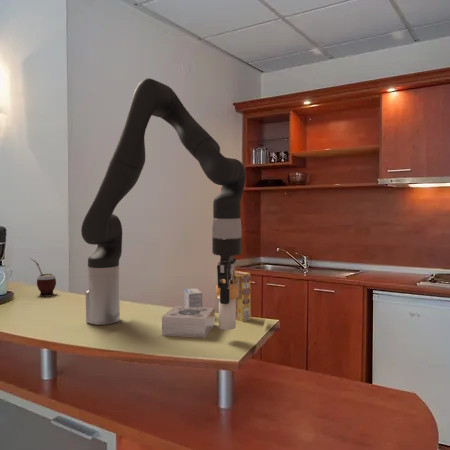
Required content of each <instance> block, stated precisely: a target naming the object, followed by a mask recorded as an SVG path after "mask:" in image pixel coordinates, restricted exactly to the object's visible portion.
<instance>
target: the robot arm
mask: <svg viewBox="0 0 450 450" xmlns="http://www.w3.org/2000/svg"><path fill="white" fill-rule="evenodd" d="M127 112H128V113H127V116H126V120H125V122H124V126H123V128H122V131H121V133H120V137H119V140H118V141H117V145H116V147H115V149H114V151H113V154H112V156H111V159H110V161H109V163H108V167H107V169H106V172H105V175H104V178H103V179H102V182H101V184H100V186H99V189H98V191H97V194H96V196H95V198H94V199H93V201H92V204H91V206H90V207H89V209H88V211H87V213H86V215H85V217H84V219H83V221H82V224H81V231H80V233H81V237H82V239H83V240H84V242H86V244H88V245H93V246H94V245H97V247H96V249H95V251H94V252H93V253H92V254H91V255H90V256H88V259H87V280H88V281H87V282H88V283H87V286H88V287H87V288H88V290H86V291H85V323H86V324H87V323H88V324H90V325H96V326H97V325H98V326H102V325H110V324H111V325H112V324H115V323H116V324H117V322H118V323H119V321H120V319H121V317H120V316H121V312H120V308H121V307H120V303H121V302H120V258H121V256H122V252H123V251H122V250H123V226H122V223H121V220H120V218H119V216H117V215H116V214H114V212H115V209H116V207H117V205H118V204H119V203H120V202H121V201H122V200H123V198H124V197H125V196H127V195H128V194H129V192H131V190H132V189H133V188H134V186H135V185H136V184H137V182H138V180H139V179H140V176H141V174H142V171H143V169H144V166H145V163H146V145H145V135H146V131H147V127H148V125H149V122H150V119H151V117H152V116H154V117H157V118H160V119H162V120H163V121H165V122H166V123H168V124H169V125H170V126H171V127H172V128H173V129H174V130H175V132H176V133H177V136H178V139H179V140H180V142H181V144H182V145H183V147H184V148H185V149H186V150H187V152H189V153H190V155H191V156H192V157H193V158H194V159H195V160H196V161H198V163H199V165H200V168H201V170H202V171H203V173H204V174H205V176H206V177H207V178H208V180H209V181H210V182H212V183H213V184H216V185H218V186H221V189H220V193H219V194H218V195H217V196H214V199H213V202H212V203H213V204H212V206H213V207H212V211H213V212H212V214H213V215H212V216H213V217H212V218H213V219H212V227H211V228H212V229H211V231H212V232H211V234H212V235H211V236H212V237H211V239H212V241H211V242H212V243H211V245H212V248H211V249H212V250H211V251H212V254H213V255H214V256H219V257H220V259H219V261H218V263H217V266H216V270H217V271H216V272H217V284H218V288H219V289H220V303H221V304H229V288H230V283H233V284H234V282H235V281H234V280H235V279H236V277H235V271H236V262H237V259H236V257H234V256H239V255H241V254H242V248H243V247H242V246H243V245H242V237H243V236H242V232H243V231H242V223H241V222H242V221H241V203H242V202H241V200H242V197H243V193H244V190H245V189H244V188H245V184H246V178H247V177H246V174H247V173H246V170H245V166H244V164H243V162H241V161H240V160H239V159H237V158H230V157H226V156H225V155H223V154H222V153H221V147H220V145H219V143H218V141H216V139H214V137H212V136H211V134H209V132H208V131H206V129H205V128H204V127H202V126H201V124H199V122H198V121H197V120H196V119H195V118H194V117H193V116H192V115H191V113H190V112H189V111H188V110H187V108H186V107H185V106H184V104H183V102H182V101H181V100H180V98H179V97H178V95H177V94H176V92H175V91H174V90H173V89H172V87H170V86H169V85H166V84H165V83H163V82H160V81H158V80H155V79H153V78H149V77H148V78H144V79H142V80H141V81H140V82H139V83H138V84H137V86H136V88H135V90H134V92H133V95H132V98H131V102H130V105H129V109H128V111H127ZM223 280H224V282H225V283H222V281H223Z"/></svg>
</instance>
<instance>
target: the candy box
mask: <svg viewBox="0 0 450 450" xmlns="http://www.w3.org/2000/svg"><path fill="white" fill-rule="evenodd" d="M235 277H236V279H235V280H234V281H235V282H234V284H237V285H238V298H236V321H237V322H238V321H239V322H246V321H249V320H250V321H251V319H252V315H251V314H252V313H251V312H252V311H251V300H252V299H251V296H252V295H251V273H250V272H245V271H239V270H235ZM222 283H225V282H224V280H223V281H222Z"/></svg>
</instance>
